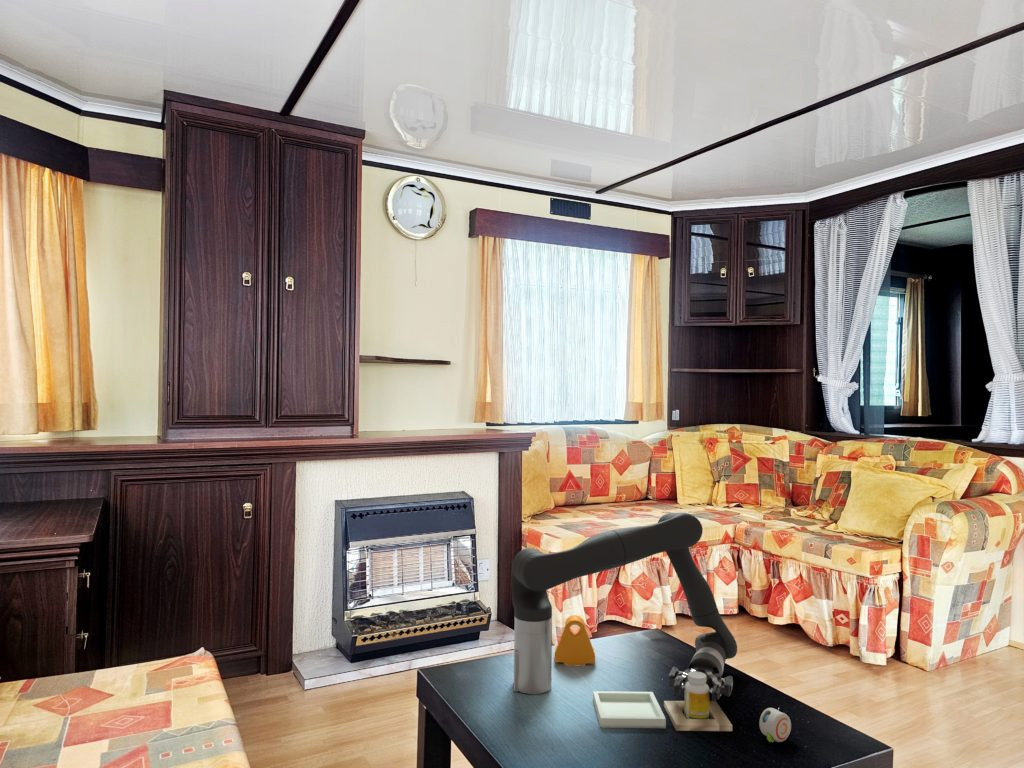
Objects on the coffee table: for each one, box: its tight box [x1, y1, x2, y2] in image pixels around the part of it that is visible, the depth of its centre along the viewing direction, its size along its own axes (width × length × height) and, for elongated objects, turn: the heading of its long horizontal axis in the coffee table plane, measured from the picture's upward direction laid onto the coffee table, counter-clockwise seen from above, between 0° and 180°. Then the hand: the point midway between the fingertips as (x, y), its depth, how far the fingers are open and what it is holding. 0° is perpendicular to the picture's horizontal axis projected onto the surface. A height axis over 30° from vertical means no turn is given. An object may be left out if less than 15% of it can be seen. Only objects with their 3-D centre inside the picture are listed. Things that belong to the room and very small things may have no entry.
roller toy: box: [758, 707, 792, 743], centre depth 145 cm, size 4×6×6 cm
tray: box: [592, 690, 667, 729], centre depth 156 cm, size 14×14×2 cm
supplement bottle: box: [683, 671, 710, 719], centre depth 154 cm, size 5×5×10 cm
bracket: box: [554, 614, 596, 667], centre depth 188 cm, size 11×7×12 cm, turn 85°
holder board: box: [663, 700, 733, 732], centre depth 154 cm, size 12×12×1 cm
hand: (695, 693), depth 152 cm, fingers open, 7 cm apart
